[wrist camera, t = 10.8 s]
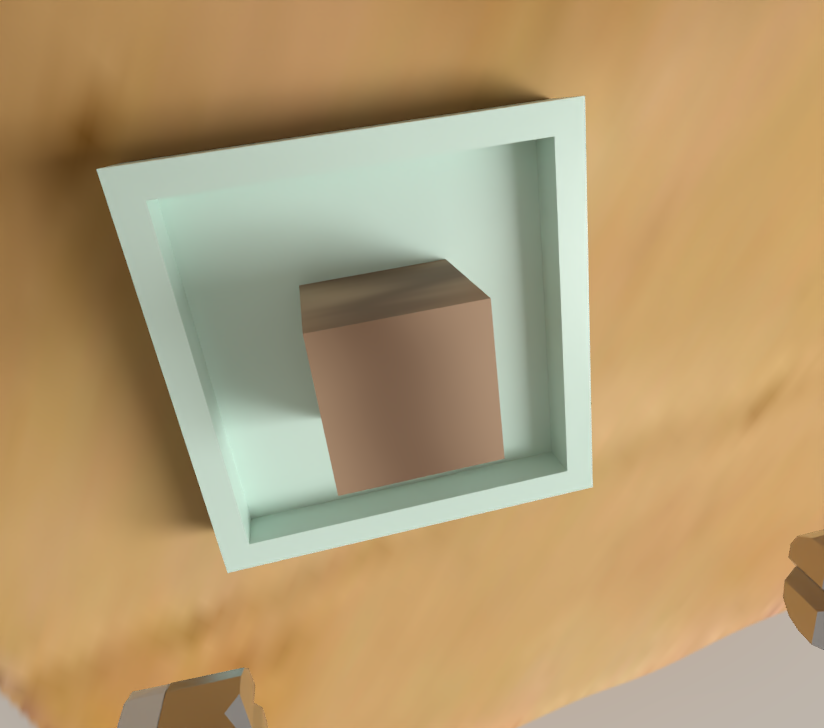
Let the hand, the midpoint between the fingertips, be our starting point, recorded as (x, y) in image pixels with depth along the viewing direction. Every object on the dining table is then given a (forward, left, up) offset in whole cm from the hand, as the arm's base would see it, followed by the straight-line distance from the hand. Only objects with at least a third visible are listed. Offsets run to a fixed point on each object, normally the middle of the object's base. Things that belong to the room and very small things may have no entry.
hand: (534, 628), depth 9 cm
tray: (0, 0, -15) cm, 15 cm away
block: (0, 0, -14) cm, 14 cm away
